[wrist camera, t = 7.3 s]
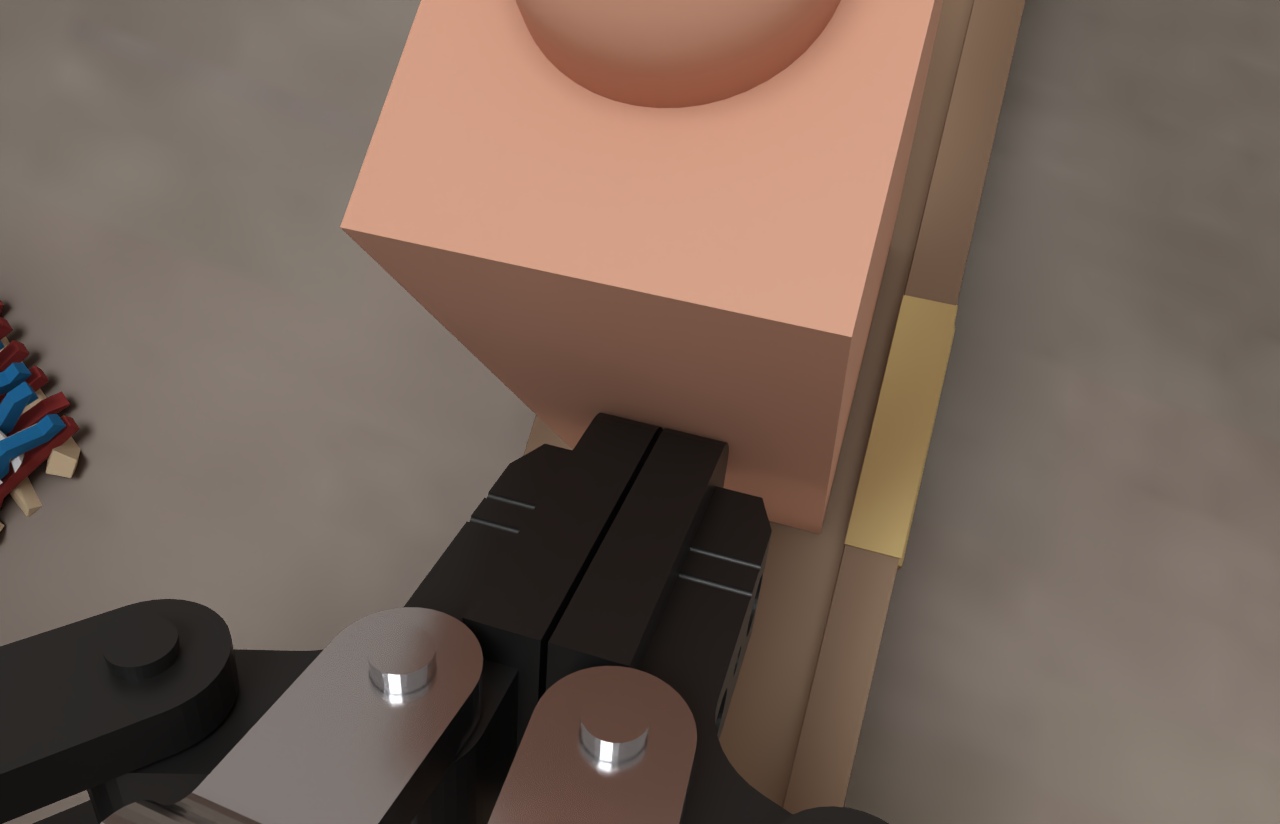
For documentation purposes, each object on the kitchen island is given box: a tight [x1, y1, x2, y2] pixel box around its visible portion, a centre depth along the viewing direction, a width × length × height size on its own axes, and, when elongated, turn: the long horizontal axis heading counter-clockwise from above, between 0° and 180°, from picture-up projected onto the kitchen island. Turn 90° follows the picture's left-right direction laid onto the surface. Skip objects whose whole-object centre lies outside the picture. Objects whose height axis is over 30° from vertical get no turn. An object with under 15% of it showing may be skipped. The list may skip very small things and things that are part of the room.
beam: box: [524, 0, 1025, 814], centre depth 18 cm, size 6×32×7 cm, turn 164°
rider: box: [340, 0, 943, 534], centre depth 12 cm, size 4×5×11 cm
